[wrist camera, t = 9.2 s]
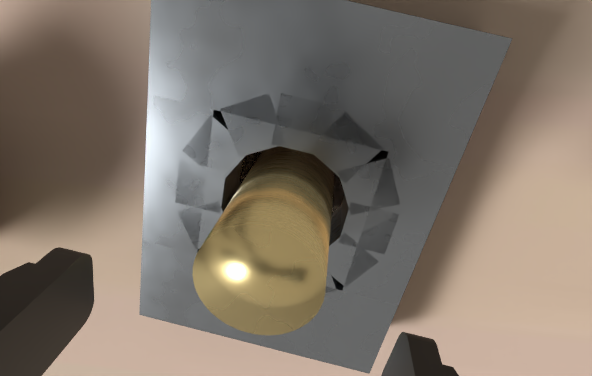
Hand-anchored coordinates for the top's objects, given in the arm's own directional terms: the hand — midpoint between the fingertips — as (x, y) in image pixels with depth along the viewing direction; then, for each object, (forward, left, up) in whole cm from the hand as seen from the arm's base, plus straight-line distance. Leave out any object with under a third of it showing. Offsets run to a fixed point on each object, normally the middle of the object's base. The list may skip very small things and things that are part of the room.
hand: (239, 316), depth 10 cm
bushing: (0, 0, -10) cm, 10 cm away
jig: (0, 0, -10) cm, 10 cm away
